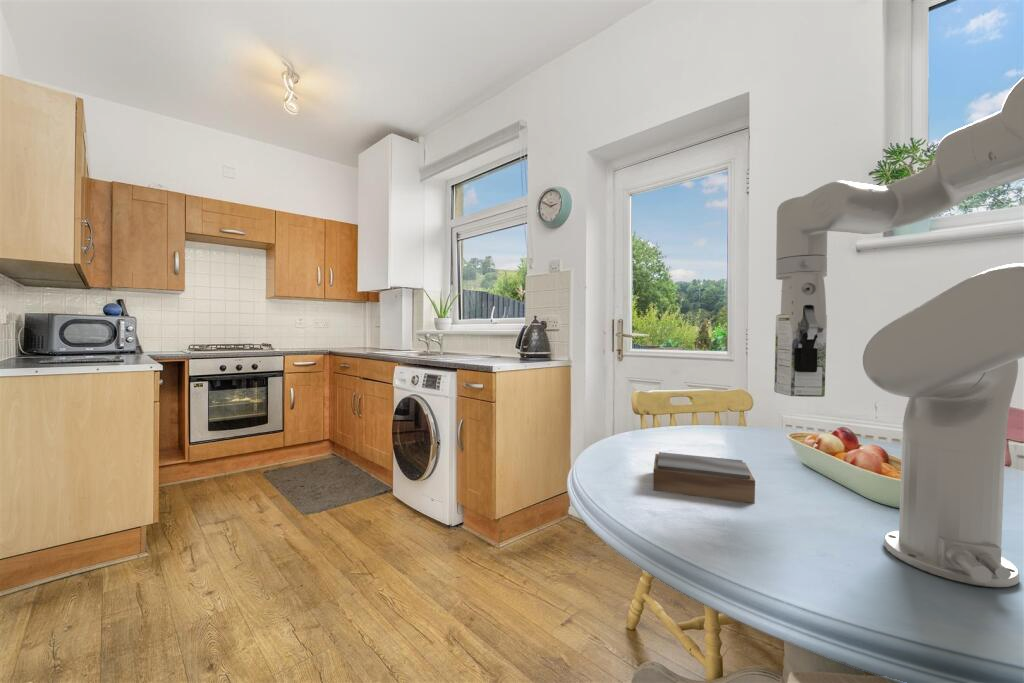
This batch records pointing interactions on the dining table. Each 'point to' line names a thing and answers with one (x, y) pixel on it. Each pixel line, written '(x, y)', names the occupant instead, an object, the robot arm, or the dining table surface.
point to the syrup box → (784, 363)
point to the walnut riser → (703, 477)
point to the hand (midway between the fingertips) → (799, 369)
